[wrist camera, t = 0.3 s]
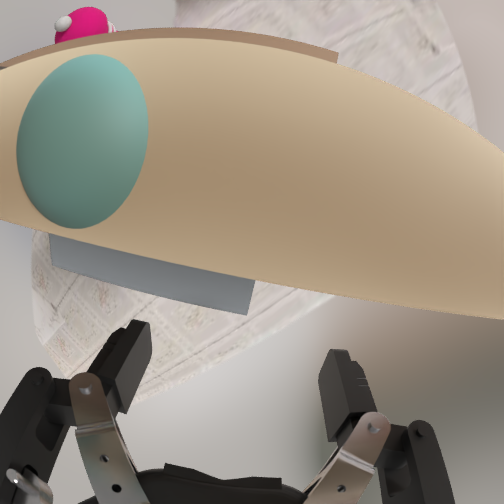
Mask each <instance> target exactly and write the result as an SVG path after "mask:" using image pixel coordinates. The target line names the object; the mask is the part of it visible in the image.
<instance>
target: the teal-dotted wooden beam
mask: <svg viewBox="0 0 504 504" xmlns="http://www.w3.org/2000/svg"><path fill="white" fill-rule="evenodd" d="M0 220H4V221H7V222H10V223H14V224H18V225H21V226H25V227H29V228H32V229H36V230H40V231H43V232H47V233H51V234H55V235H59V236H62V237H66V238H70V239H74V240H78V241H82V242H86V243H90V244H94V245H98V246H102V247H107V248H111V249H115V250H119V251H123V252H128V253H132V254H136V255H140V256H145V257H149V258H154V259H158V260H162V261H167V262H171V263H176V264H181V265H185V266H190V267H194V268H199V269H204V270H209V271H213V272H218V273H223V274H228V275H233V276H238V277H243V278H248V279H253V280H258V281H263V282H268V283H273V284H278V285H283V286H289V287H294V288H300V289H305V290H310V291H316V292H321V293H327V294H333V295H339V296H344V297H351V298H356V299H362V300H368V301H374V302H380V303H387V304H393V305H400V306H406V307H412V308H420V309H426V310H433V311H440V312H447V313H454V314H462V315H469V316H477V317H485V318H494V319H502V320H504V152H502V151H501V150H500V149H499V148H497V147H496V146H495V145H493V144H492V143H491V142H489V141H488V140H487V139H485V138H484V137H482V136H481V135H480V134H479V133H477V132H476V131H474V130H473V129H471V128H470V127H468V126H467V125H465V124H464V123H462V122H461V121H459V120H457V119H456V118H454V117H453V116H451V115H449V114H448V113H446V112H444V111H443V110H441V109H439V108H437V107H436V106H434V105H432V104H430V103H428V102H426V101H425V100H423V99H421V98H419V97H417V96H415V95H413V94H411V93H409V92H407V91H405V90H403V89H400V88H398V87H396V86H394V85H392V84H389V83H387V82H385V81H382V80H380V79H377V78H375V77H372V76H370V75H367V74H365V73H362V72H359V71H357V70H354V69H351V68H348V67H345V66H342V65H339V64H336V63H333V62H329V61H326V60H323V59H319V58H316V57H312V56H308V55H304V54H300V53H296V52H292V51H287V50H282V49H277V48H272V47H267V46H261V45H255V44H248V43H241V42H233V41H223V40H211V39H193V38H153V39H135V40H124V41H114V42H106V43H99V44H93V45H87V46H82V47H77V48H72V49H67V50H63V51H59V52H55V53H51V54H47V55H44V56H40V57H37V58H33V59H30V60H27V61H24V62H21V63H18V64H15V65H13V66H10V67H3V66H0Z"/></svg>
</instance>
